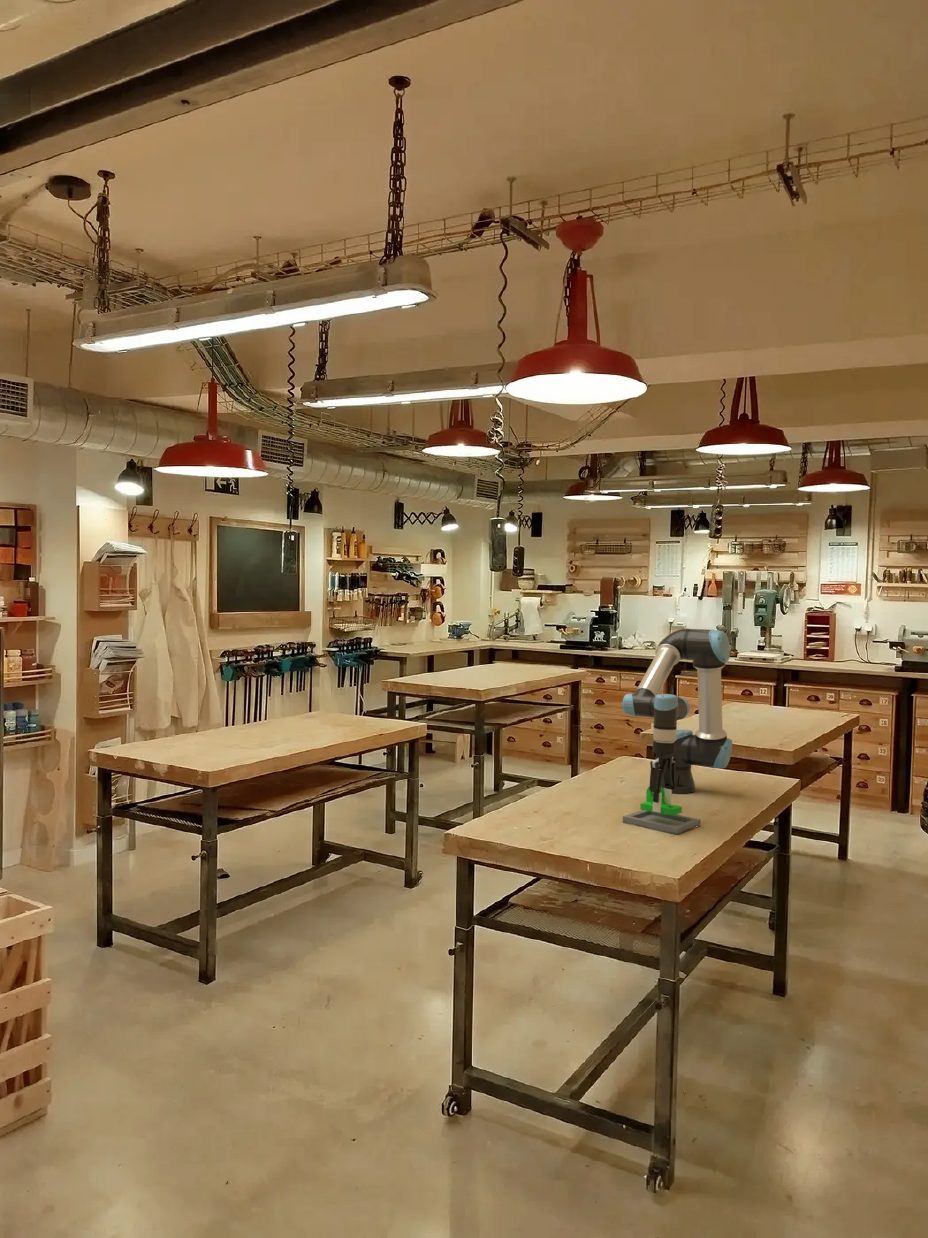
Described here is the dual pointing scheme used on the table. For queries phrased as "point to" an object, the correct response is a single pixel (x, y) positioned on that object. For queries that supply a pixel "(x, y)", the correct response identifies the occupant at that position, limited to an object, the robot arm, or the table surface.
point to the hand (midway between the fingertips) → (661, 810)
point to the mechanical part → (665, 808)
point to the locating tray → (661, 821)
